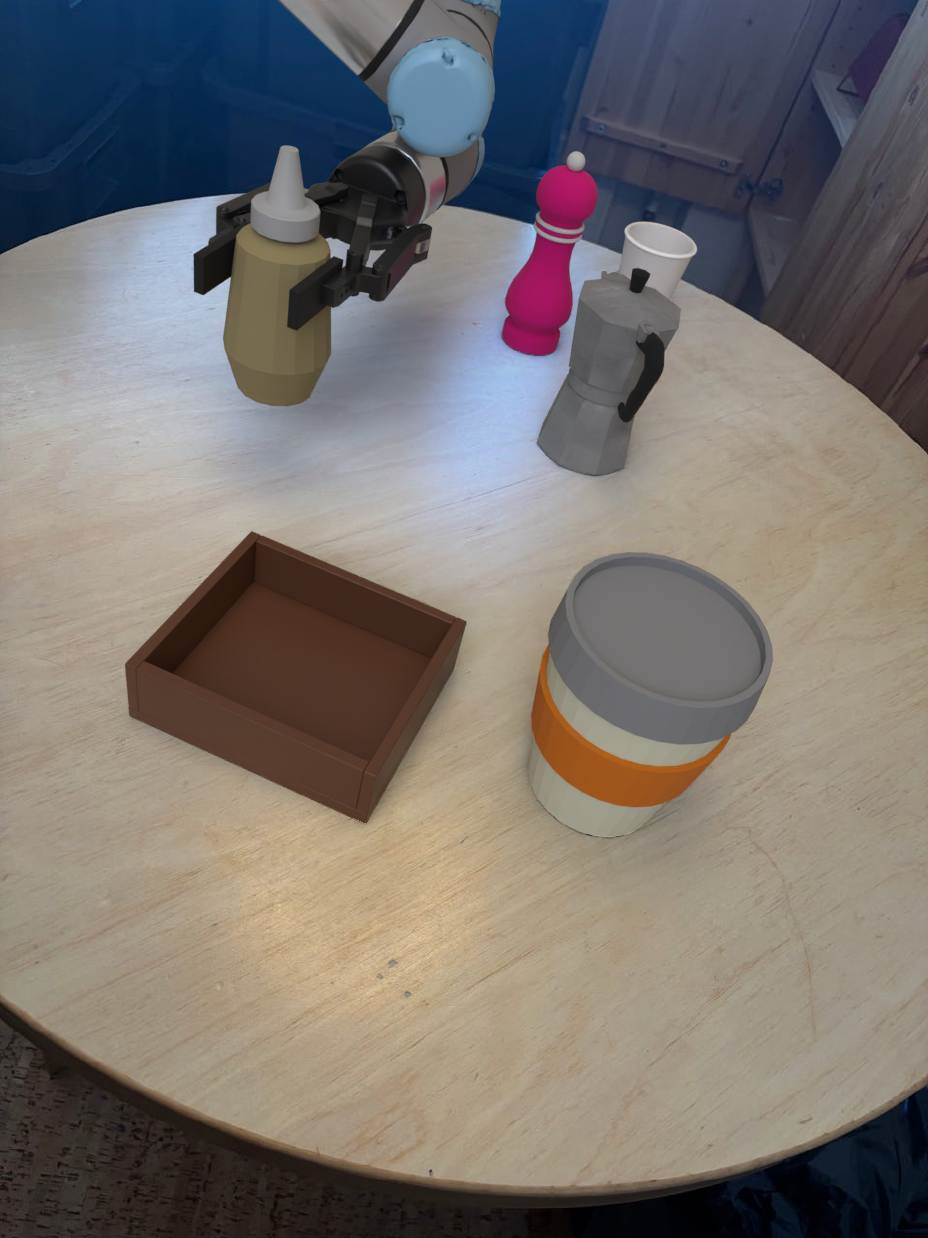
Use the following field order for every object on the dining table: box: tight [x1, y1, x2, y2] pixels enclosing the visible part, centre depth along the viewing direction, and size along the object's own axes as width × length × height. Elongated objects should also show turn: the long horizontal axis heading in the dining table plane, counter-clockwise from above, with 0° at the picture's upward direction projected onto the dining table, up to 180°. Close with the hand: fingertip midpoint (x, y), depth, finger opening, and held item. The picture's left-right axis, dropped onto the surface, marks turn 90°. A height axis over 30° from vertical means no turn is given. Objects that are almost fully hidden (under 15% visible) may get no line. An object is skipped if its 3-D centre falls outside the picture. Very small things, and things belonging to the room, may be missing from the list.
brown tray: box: [124, 530, 467, 824], centre depth 62 cm, size 17×15×5 cm
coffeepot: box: [536, 268, 682, 476], centre depth 84 cm, size 15×9×18 cm, turn 10°
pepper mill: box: [501, 151, 599, 356], centre depth 97 cm, size 7×7×20 cm
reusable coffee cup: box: [527, 551, 774, 836], centre depth 58 cm, size 13×12×15 cm
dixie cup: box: [618, 221, 698, 301], centre depth 109 cm, size 8×8×10 cm
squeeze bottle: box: [222, 144, 332, 407], centre depth 68 cm, size 8×8×18 cm
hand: (245, 292), depth 64 cm, fingers closed on squeeze bottle, 6 cm apart
